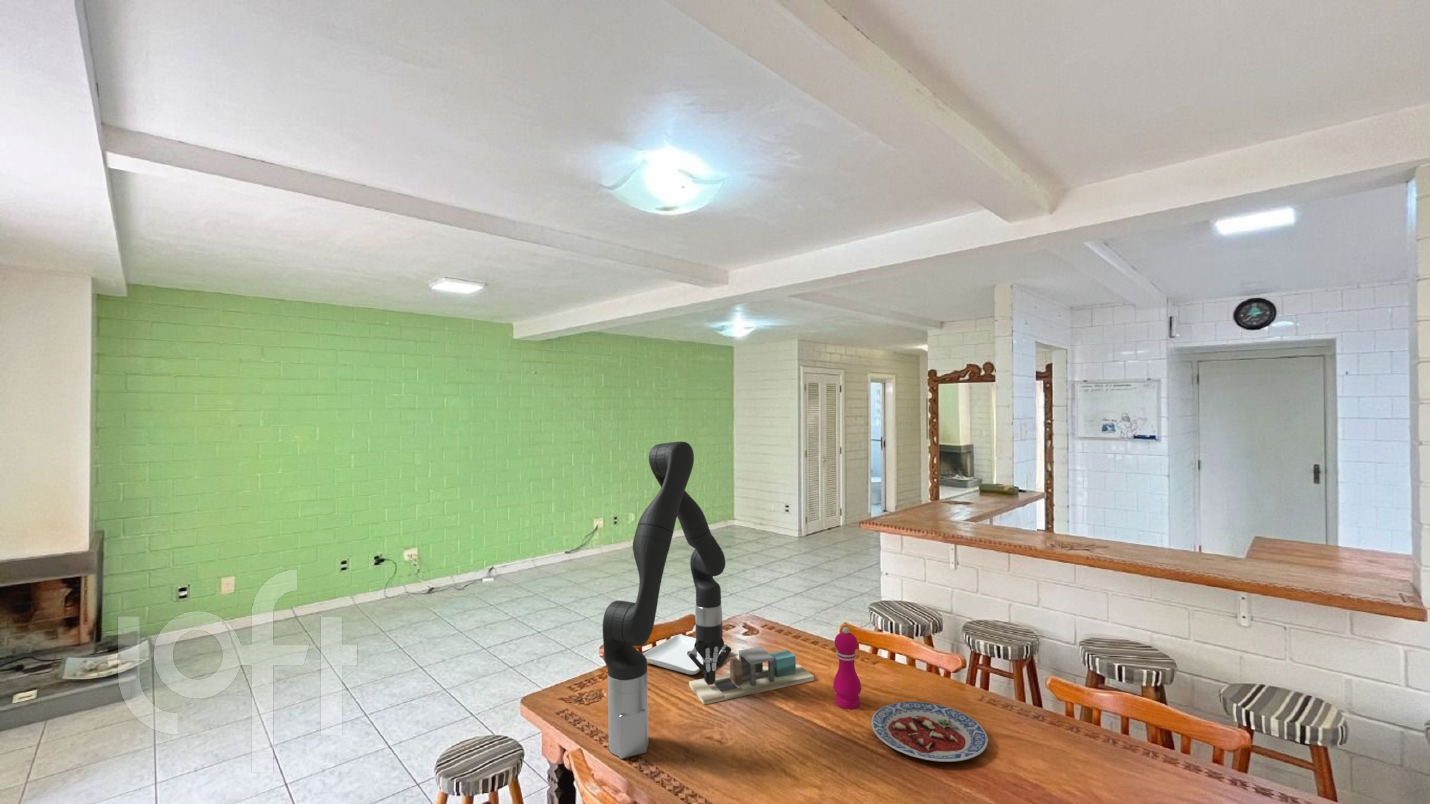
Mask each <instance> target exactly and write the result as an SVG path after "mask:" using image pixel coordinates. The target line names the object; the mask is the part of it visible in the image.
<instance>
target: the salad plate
mask: <svg viewBox="0 0 1430 804" xmlns="http://www.w3.org/2000/svg"><path fill="white" fill-rule="evenodd" d="M695 642H696V637H692V636H689V635H688V636H687V635H685V634H677V635H674V636H673V637H670V638H669V639H667V640H665V641H663V642H662V643H659V644H658V645H656V646H653V647H652V648H650V649H649V650H647V651H645V652H643V653H642V654H643V655H644V656H645V657H646V659H647V664H652V665H655V666H658V667H660V668H664V669H668V670H672V671H675V672H678V673H683V674H687V675H691V676H693V675H696V674H698V673H699V672H700V671H701V670H700V669H699V668H698V667H697V665H696V664H695V663H694V662H693V661H692V660H691V658H690V657H689V656H688V655H687V652H688V651H692V650H693V649H694V644H695ZM728 646H729V647H730V648H731V646H730V645H728ZM720 652H721V651H720ZM719 654H720V653H719ZM719 654H718V656H719ZM718 656H717V657H718ZM697 659H698V661H699V662H700V663H701V664H703V660H702V657H701V656H700V654H699V653H698V652H697Z"/></svg>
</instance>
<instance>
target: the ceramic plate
mask: <svg viewBox="0 0 1430 804" xmlns="http://www.w3.org/2000/svg"><path fill="white" fill-rule="evenodd" d="M871 728H872V730H873V733H874V734H875V736H877V738H878V739H879V740H880V741H882V743H885V744H886V745H887V746H889V747H890V748H892V749H894V750H895V751H897V752H899V753H903V754H905V755H907V756H910V757H912V758H913V757H914V758H918V759H921V760H925V761H933V762H948V763H949V762H950V763H951V762H952V763H953V762H961V761H966V760H970V759H973V758H975V757H977V756H979V755H981V754H982V753H983V752H984V751H985V750H986V748H987V747H988V742H989V739H988V735H987V733H986V731H985V729H984V728H983V727H982V726H981V724H980V723H979V722H977V721H976V720H975V719H973V718H972V717H971V716H968V715H967V714H965V713H963V712H961V711H959V710H957V709H954V708H951V707H948V706H944V705H941V704H936V703H930V702H924V701H902V702H900V701H899V702H896V703H891V704H888V705H885V706H882V707H881V708H879V709H878V710H877V711H875V713H874V714H873V715H872V718H871ZM885 744H884V745H885Z"/></svg>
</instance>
